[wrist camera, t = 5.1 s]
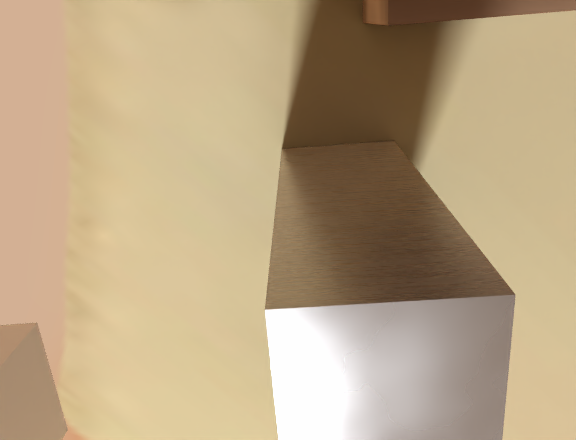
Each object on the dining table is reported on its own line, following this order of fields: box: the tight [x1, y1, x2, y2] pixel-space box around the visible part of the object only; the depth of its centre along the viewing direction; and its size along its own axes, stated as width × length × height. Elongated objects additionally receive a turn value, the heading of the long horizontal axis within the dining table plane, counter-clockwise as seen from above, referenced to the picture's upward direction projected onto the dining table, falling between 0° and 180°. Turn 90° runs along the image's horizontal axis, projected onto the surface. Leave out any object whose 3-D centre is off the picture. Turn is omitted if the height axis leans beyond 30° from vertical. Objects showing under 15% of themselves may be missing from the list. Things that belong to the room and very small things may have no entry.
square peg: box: [265, 141, 515, 440], centre depth 14 cm, size 4×4×11 cm
